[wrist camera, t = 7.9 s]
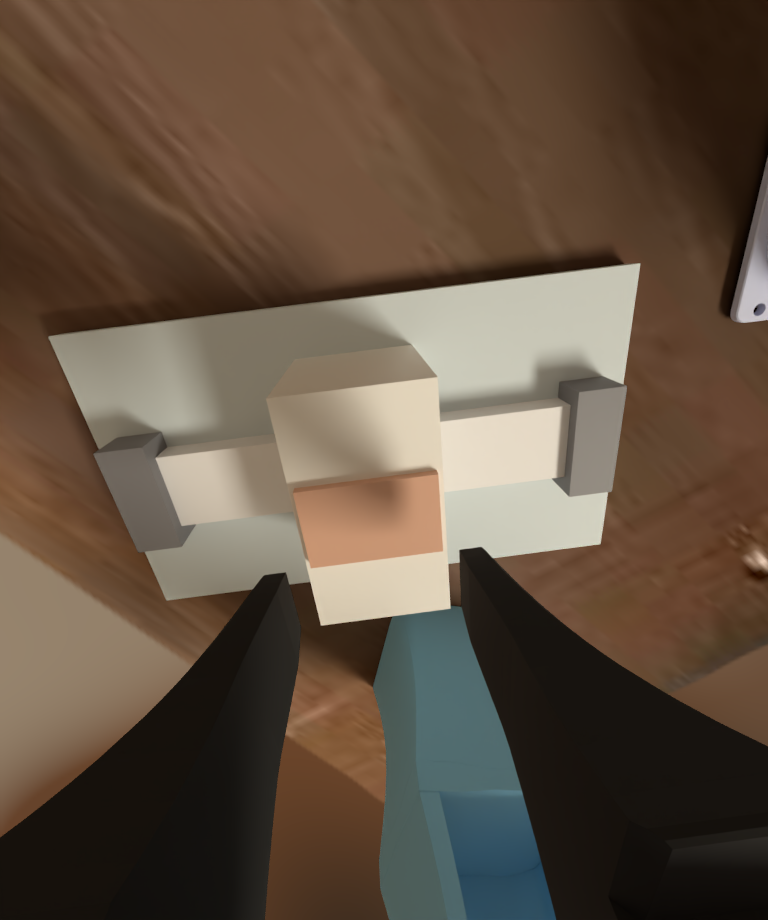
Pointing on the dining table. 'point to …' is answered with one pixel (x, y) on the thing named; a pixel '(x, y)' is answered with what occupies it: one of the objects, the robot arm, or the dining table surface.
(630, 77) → the dining table surface
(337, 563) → the block
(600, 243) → the dining table surface
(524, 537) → the rail board
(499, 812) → the vase
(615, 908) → the robot arm
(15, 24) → the dining table surface
